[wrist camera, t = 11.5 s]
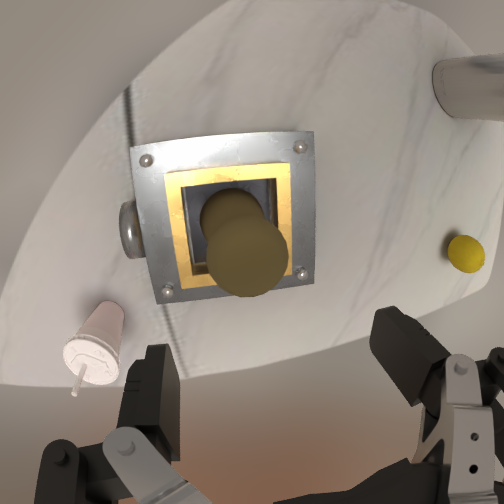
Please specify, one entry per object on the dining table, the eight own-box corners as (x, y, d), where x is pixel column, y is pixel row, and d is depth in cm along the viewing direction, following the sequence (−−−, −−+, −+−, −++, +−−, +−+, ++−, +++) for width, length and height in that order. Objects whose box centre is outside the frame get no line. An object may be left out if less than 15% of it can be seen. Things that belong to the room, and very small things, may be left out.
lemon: (443, 266, 39) (475, 287, 32) (435, 243, 37) (470, 263, 30) (461, 246, 39) (494, 264, 32) (455, 221, 37) (490, 238, 29)
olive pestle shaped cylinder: (220, 175, 25) (234, 196, 15) (275, 208, 27) (321, 248, 17) (187, 232, 26) (181, 287, 16) (242, 260, 28) (266, 325, 18)
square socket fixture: (299, 132, 29) (324, 130, 23) (302, 268, 34) (322, 294, 29) (124, 149, 26) (104, 151, 20) (148, 288, 32) (138, 319, 26)
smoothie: (82, 292, 31) (37, 367, 18) (128, 289, 32) (97, 371, 19) (95, 333, 33) (65, 412, 20) (139, 332, 34) (121, 417, 21)
